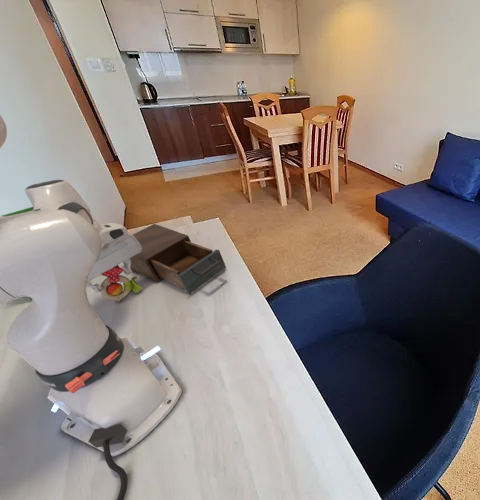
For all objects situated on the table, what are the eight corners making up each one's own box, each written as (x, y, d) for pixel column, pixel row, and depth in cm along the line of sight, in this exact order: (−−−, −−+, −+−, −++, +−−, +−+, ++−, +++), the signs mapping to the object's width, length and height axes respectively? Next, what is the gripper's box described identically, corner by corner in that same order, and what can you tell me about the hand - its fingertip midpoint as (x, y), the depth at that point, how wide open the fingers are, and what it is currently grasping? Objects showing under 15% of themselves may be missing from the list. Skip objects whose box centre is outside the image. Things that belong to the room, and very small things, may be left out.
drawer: (237, 271, 92) (230, 253, 89) (200, 300, 83) (190, 281, 80) (190, 253, 103) (182, 236, 99) (153, 276, 94) (142, 259, 90)
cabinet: (198, 256, 103) (188, 235, 98) (157, 282, 93) (144, 260, 88) (165, 243, 112) (154, 223, 107) (125, 266, 102) (111, 245, 97)
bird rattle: (128, 309, 87) (150, 283, 90) (89, 293, 78) (116, 265, 81) (119, 301, 90) (141, 276, 93) (81, 285, 82) (107, 258, 85)
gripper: (42, 267, 69) (78, 309, 77) (131, 224, 83) (154, 264, 91) (31, 260, 72) (68, 302, 80) (119, 220, 86) (143, 259, 94)
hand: (114, 281), depth 85 cm, fingers closed on bird rattle, 7 cm apart
